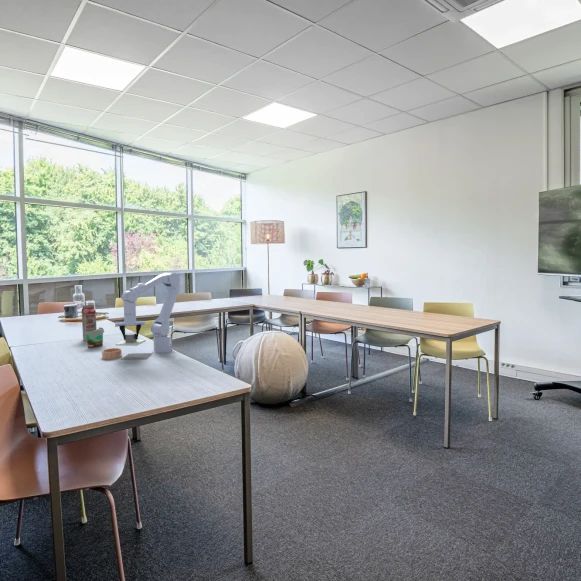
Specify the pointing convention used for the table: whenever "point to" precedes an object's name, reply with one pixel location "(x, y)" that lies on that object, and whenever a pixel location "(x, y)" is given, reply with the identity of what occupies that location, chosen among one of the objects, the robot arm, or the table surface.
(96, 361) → the table surface
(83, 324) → the juice carton
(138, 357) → the mat
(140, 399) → the table surface
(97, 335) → the food container
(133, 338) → the sheet lid
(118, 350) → the tan bowl
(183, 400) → the table surface
